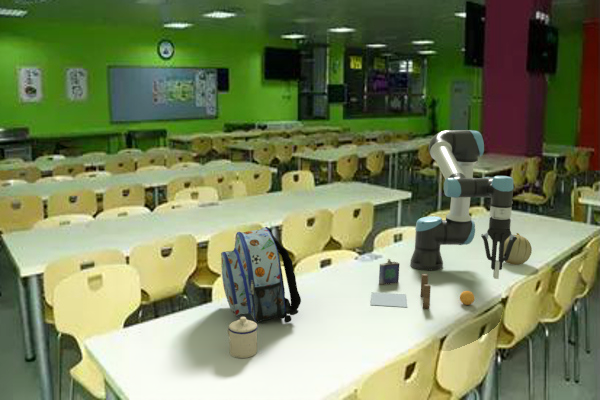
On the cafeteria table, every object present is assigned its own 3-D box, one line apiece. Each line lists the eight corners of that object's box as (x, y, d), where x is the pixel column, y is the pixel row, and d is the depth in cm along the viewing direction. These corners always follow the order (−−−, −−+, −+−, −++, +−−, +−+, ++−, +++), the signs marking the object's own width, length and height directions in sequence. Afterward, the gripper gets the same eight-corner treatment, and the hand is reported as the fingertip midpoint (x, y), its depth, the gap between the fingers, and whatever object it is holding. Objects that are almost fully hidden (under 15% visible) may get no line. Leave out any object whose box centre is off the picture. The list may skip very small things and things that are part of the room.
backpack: (212, 300, 221) (210, 222, 215) (274, 292, 230) (274, 218, 224) (233, 334, 191) (231, 244, 185) (302, 323, 200) (303, 238, 194)
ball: (458, 301, 222) (459, 288, 221) (472, 302, 222) (473, 289, 220) (460, 306, 217) (461, 293, 216) (475, 307, 216) (476, 294, 215)
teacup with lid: (263, 352, 178) (263, 317, 176) (241, 362, 171) (240, 326, 169) (239, 340, 186) (239, 307, 184) (217, 349, 180) (216, 314, 178)
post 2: (422, 306, 217) (423, 284, 215) (429, 306, 216) (430, 284, 215) (422, 309, 214) (423, 286, 213) (429, 309, 214) (430, 286, 212)
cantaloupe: (499, 267, 266) (501, 236, 263) (496, 258, 280) (498, 229, 277) (532, 270, 263) (535, 238, 260) (527, 261, 277) (530, 231, 274)
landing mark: (371, 292, 231) (371, 292, 231) (406, 294, 229) (406, 294, 229) (370, 305, 218) (370, 304, 218) (407, 307, 216) (407, 307, 216)
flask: (380, 285, 240) (381, 261, 238) (377, 283, 243) (378, 259, 241) (399, 283, 243) (400, 259, 241) (396, 281, 246) (397, 257, 244)
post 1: (420, 295, 229) (421, 273, 227) (426, 295, 229) (427, 274, 227) (420, 297, 227) (421, 275, 225) (427, 297, 226) (428, 276, 224)
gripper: (483, 218, 208) (479, 279, 213) (520, 220, 206) (515, 281, 211) (480, 214, 216) (476, 273, 220) (516, 216, 214) (511, 275, 218)
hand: (495, 277), depth 215 cm, fingers closed
